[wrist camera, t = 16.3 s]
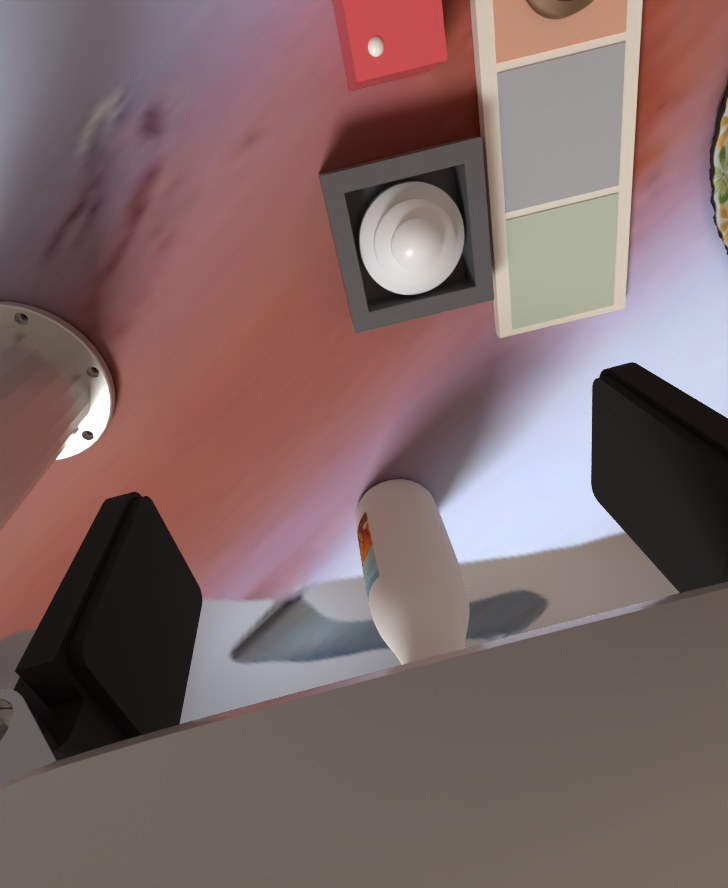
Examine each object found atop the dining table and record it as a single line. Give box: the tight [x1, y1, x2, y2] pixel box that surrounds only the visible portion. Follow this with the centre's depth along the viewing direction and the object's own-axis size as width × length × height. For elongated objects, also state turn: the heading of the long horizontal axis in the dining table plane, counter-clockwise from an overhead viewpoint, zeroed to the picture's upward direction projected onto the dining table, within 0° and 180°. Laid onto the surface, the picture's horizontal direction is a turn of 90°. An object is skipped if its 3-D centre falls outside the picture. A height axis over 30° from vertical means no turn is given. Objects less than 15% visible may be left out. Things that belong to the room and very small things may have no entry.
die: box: [332, 0, 448, 91], centre depth 28 cm, size 5×5×5 cm
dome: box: [358, 181, 464, 295], centre depth 34 cm, size 7×7×3 cm
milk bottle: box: [355, 479, 469, 665], centre depth 40 cm, size 8×8×20 cm
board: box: [470, 0, 643, 338], centre depth 34 cm, size 10×26×1 cm, turn 12°
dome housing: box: [319, 137, 494, 333], centre depth 35 cm, size 10×10×4 cm
